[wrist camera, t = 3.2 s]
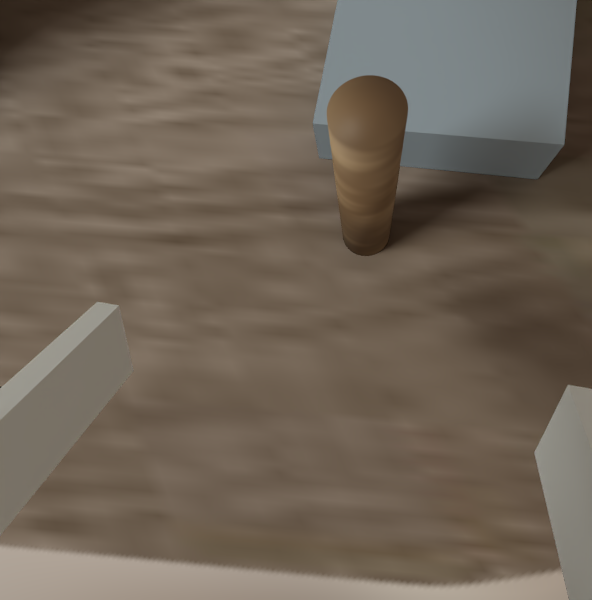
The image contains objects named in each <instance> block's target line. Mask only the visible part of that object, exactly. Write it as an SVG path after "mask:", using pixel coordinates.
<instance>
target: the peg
mask: <svg viewBox="0 0 592 600" xmlns="http://www.w3.org/2000/svg"><path fill="white" fill-rule="evenodd" d="M407 116H408V103H407V99H406V96H405V94H404V92H403V91H402V90H401V88H400V87H399V86H398V85H397V84H395V83H394V82H393V81H391V80H389V79H387V78H384V77H381V76H375V75H366V76H360V77H356V78H353V79H351V80H349V81H347V82H345V83H344V84H342V85H341V86H340V87H339V88H338V89H337V90H336V91H335V92H334V93H333V95H332V96H331V98H330V100H329V103H328V106H327V123H328V130H329V137H330V145H331V152H332V159H333V167H334V174H335V182H336V189H337V196H338V204H339V211H340V219H341V226H342V233H343V240H344V242H345V245H346V246H347V247H348V249H349V250H351V251H352V252H353V253H355V254H358V255H362V256H370V255H374V254H376V253H378V252H380V251H381V250H382V249H383V248H384V247H385V246H386V244H387V242H388V240H389V235H390V229H391V222H392V215H393V209H394V202H395V195H396V189H397V182H398V175H399V169H400V162H401V156H402V149H403V142H404V136H405V129H406V122H407Z"/></svg>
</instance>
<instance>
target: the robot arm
mask: <svg viewBox="0 0 592 600" xmlns="http://www.w3.org/2000/svg"><path fill="white" fill-rule="evenodd" d="M133 371H134V370H133V366H132V361H131V357H130V353H129V348H128V344H127V339H126V335H125V330H124V326H123V321H122V317H121V313H120V308H119V306H118V305H113V304H107V303H101V302H97V303H96V304H94V305H93V306H92V307H91V308H90V309H89V310H88V311H87V312H85V313H84V314H83V315H82V316H81V317H80V318H79V319H78V320H76V321H75V322H74V323H73V324H72V325H71V326H70V327H69V328H67V329H66V330H65V331H64V332H63V333H62V334H61V335H60V336H58V337H57V338H56V339H55V340H54V341H53V342H52V343H51V344H50V345H48V346H47V347H46V348H45V349H44V350H43V351H42V352H41V353H39V354H38V355H37V356H36V357H35V358H34V359H33V360H32V361H30V362H29V363H28V364H27V365H26V366H25V367H24V368H23V369H21V370H20V371H19V372H18V373H17V374H16V375H15V376H14V377H13V378H11V379H10V380H9V381H8V382H7V383H6V384H5V385H4V386H2V387H0V535H1V534H2V533H3V531H4V530H5V529H6V528H7V527H8V525H9V524H10V523H11V522H12V520H13V519H14V518H15V517H16V515H17V514H18V513H19V512H20V510H21V509H22V508H23V507H24V506H25V504H26V503H27V502H28V501H29V499H30V498H31V497H32V496H33V494H34V493H35V492H36V491H37V489H38V488H39V487H40V486H41V485H42V483H43V482H44V481H45V480H46V478H47V477H48V476H49V475H50V473H51V472H52V471H53V470H54V469H55V467H56V466H57V465H58V464H59V462H60V461H61V460H62V459H63V457H64V456H65V455H66V454H67V452H68V451H69V450H70V449H71V448H72V446H73V445H74V444H75V443H76V441H77V440H78V439H79V438H80V436H81V435H82V434H83V433H84V431H85V430H86V429H87V428H88V427H89V425H90V424H91V423H92V422H93V420H94V419H95V418H96V417H97V415H98V414H99V413H100V412H101V411H102V409H103V408H104V407H105V406H106V404H107V403H108V402H109V401H110V399H111V398H112V397H113V396H114V394H115V393H116V392H117V391H118V390H119V388H120V387H121V386H122V385H123V383H124V382H125V381H126V380H127V378H128V377H129V376H130V375H131V373H132V372H133ZM535 458H536V462H537V466H538V470H539V475H540V479H541V483H542V487H543V492H544V496H545V500H546V504H547V509H548V513H549V517H550V521H551V526H552V530H553V534H554V538H555V543H556V547H557V551H558V555H559V560H560V564H561V568H562V572H563V577H564V581H565V585H566V589H567V593H568V598H569V600H592V389H589V388H584V387H578V386H572V385H568V386H567V388H566V390H565V392H564V394H563V396H562V398H561V400H560V402H559V404H558V406H557V408H556V410H555V412H554V414H553V416H552V418H551V420H550V422H549V424H548V426H547V428H546V430H545V432H544V434H543V436H542V438H541V440H540V442H539V444H538V446H537V448H536V450H535Z"/></svg>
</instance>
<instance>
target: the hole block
mask: <svg viewBox="0 0 592 600" xmlns="http://www.w3.org/2000/svg"><path fill="white" fill-rule="evenodd" d="M576 4H577V0H338V1H337V6H336V11H335V16H334V21H333V26H332V31H331V36H330V41H329V46H328V51H327V56H326V61H325V66H324V71H323V76H322V81H321V85H320V90H319V95H318V100H317V105H316V110H315V115H314V120H313V127H314V133H315V138H316V143H317V148H318V154H319V158H324V159H332V152H331V145H330V137H329V130H328V123H327V106H328V103H329V100H330V98H331V96H332V95H333V93H334V92H335V91H336V90H337V89H338V88H339V87H340V86H341V85H342V84H344V83H345V82H347V81H349V80H351V79H353V78H356V77H360V76H366V75H375V76H381V77H384V78H387V79H389V80H391V81H393V82H394V83H395V84H397V85H398V86H399V87H400V88H401V90H402V91H403V92H404V94H405V96H406V99H407V103H408V116H407V122H406V129H405V136H404V142H403V149H402V156H401V162H400V166H406V167H416V168H426V169H437V170H447V171H457V172H467V173H477V174H488V175H498V176H508V177H518V178H528V179H538V178H539V177H540V175H541V174H542V173H543V172H544V170H545V169H546V168H547V166H548V165H549V164H550V163H551V161H552V160H553V159H554V157H555V156H556V155H557V154H558V152H559V151H560V150H561V148H562V147H563V146H564V143H565V132H566V120H567V108H568V97H569V85H570V74H571V62H572V51H573V39H574V28H575V16H576Z"/></svg>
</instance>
